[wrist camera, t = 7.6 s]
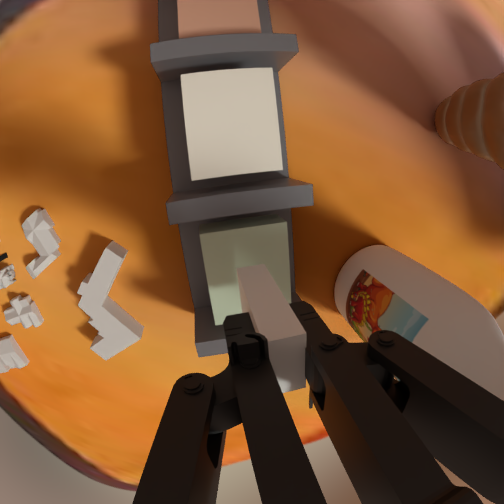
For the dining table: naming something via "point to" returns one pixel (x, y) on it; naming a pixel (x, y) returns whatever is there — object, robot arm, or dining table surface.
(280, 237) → the sage key
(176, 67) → the keypad
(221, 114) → the cream key
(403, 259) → the milk bottle
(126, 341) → the white puzzle pieces
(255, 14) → the brown flat block
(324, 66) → the dining table surface
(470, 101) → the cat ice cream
